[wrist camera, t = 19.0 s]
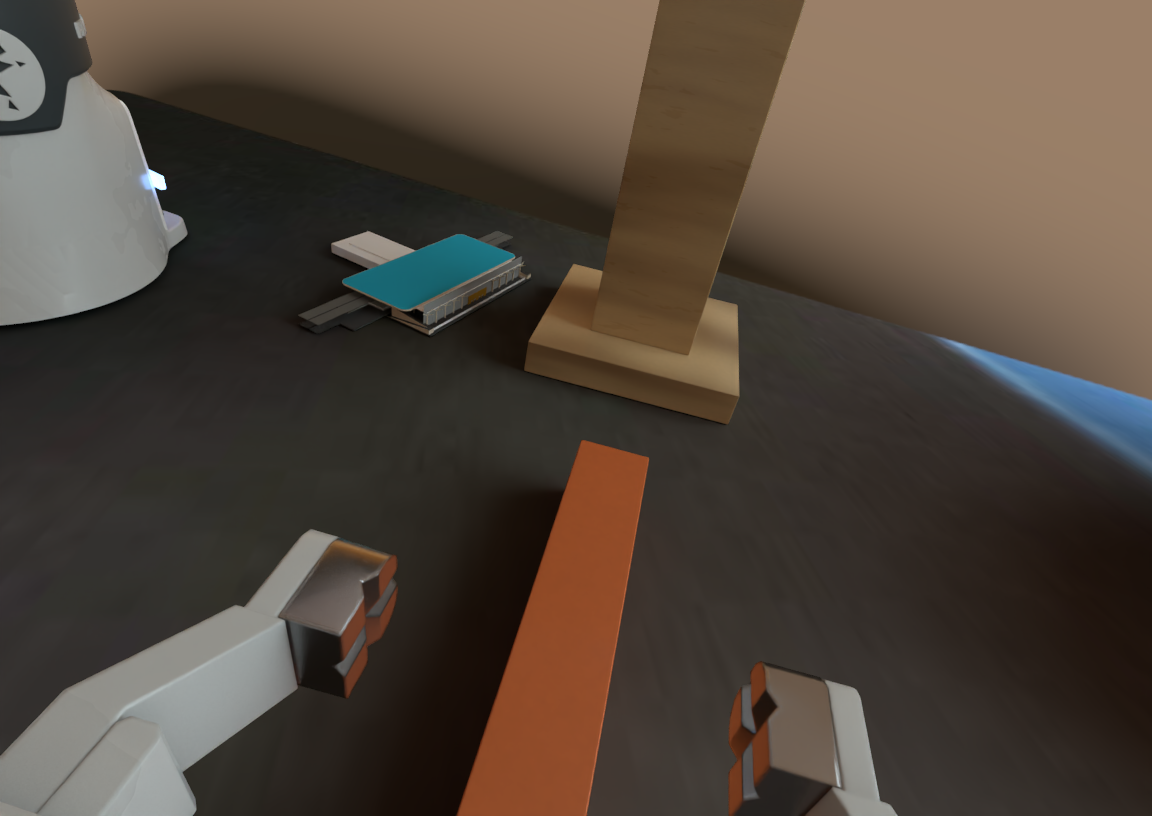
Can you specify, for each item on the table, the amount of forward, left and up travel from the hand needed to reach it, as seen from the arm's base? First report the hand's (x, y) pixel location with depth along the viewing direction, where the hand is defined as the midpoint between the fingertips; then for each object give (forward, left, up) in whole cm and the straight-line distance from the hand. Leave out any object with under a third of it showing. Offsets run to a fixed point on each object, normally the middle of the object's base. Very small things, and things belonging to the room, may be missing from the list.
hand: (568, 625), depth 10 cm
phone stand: (-26, +23, -11) cm, 36 cm away
